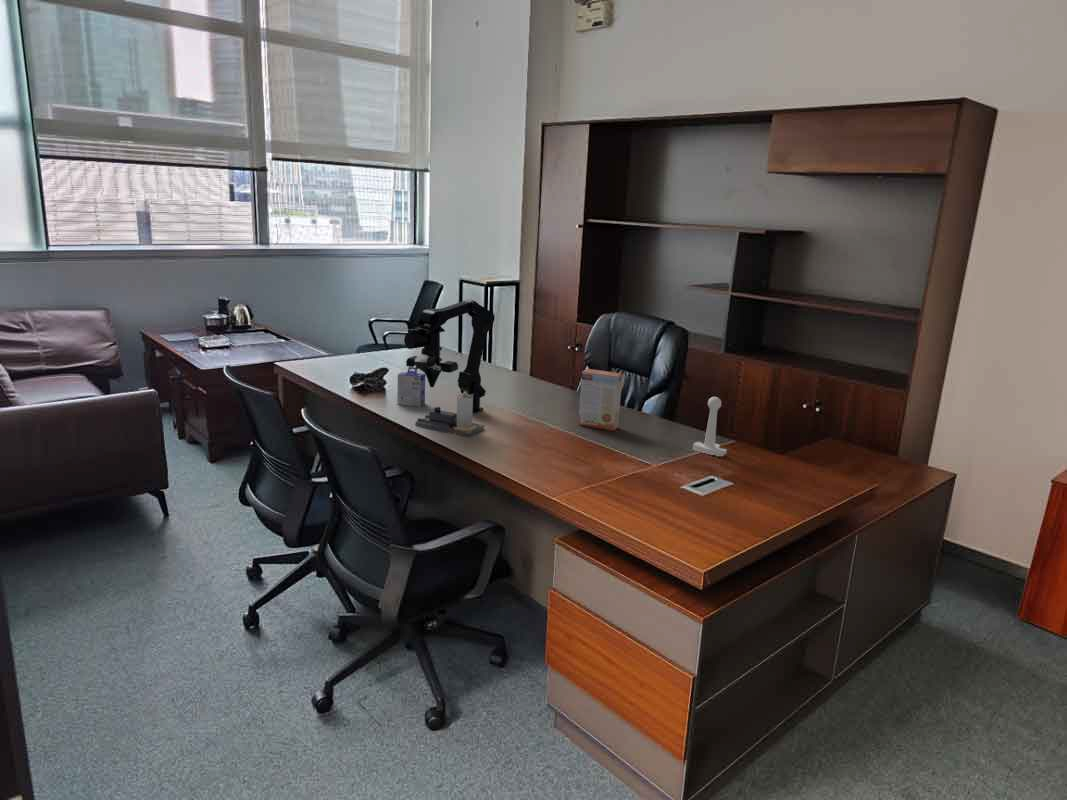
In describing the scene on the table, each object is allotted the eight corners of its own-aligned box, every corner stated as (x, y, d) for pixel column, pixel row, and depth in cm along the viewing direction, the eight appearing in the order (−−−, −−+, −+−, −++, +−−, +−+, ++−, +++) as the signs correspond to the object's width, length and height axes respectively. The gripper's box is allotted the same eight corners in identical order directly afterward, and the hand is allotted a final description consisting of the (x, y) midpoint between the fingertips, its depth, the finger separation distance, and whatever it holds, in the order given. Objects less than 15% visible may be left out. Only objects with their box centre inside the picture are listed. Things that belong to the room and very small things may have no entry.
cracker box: (618, 427, 274) (623, 373, 268) (613, 431, 269) (618, 376, 263) (583, 421, 279) (587, 367, 274) (577, 425, 274) (581, 370, 268)
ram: (434, 418, 267) (434, 405, 266) (458, 423, 263) (458, 410, 262) (429, 420, 264) (429, 407, 263) (453, 425, 260) (453, 412, 259)
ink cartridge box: (425, 403, 291) (426, 367, 287) (420, 407, 286) (421, 371, 282) (402, 400, 293) (402, 365, 289) (396, 404, 288) (396, 368, 284)
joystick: (690, 450, 253) (697, 394, 247) (701, 445, 258) (707, 390, 253) (720, 459, 246) (727, 401, 241) (730, 453, 252) (737, 397, 246)
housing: (458, 423, 263) (459, 389, 259) (472, 424, 263) (473, 390, 259) (456, 427, 258) (457, 393, 255) (470, 428, 258) (471, 394, 255)
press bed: (430, 418, 272) (430, 412, 272) (484, 429, 264) (484, 423, 263) (415, 425, 263) (415, 419, 263) (470, 436, 255) (470, 430, 254)
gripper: (397, 346, 260) (397, 388, 264) (442, 352, 253) (442, 396, 257) (414, 340, 270) (414, 381, 274) (458, 346, 262) (458, 388, 267)
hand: (432, 387), depth 268 cm, fingers closed
